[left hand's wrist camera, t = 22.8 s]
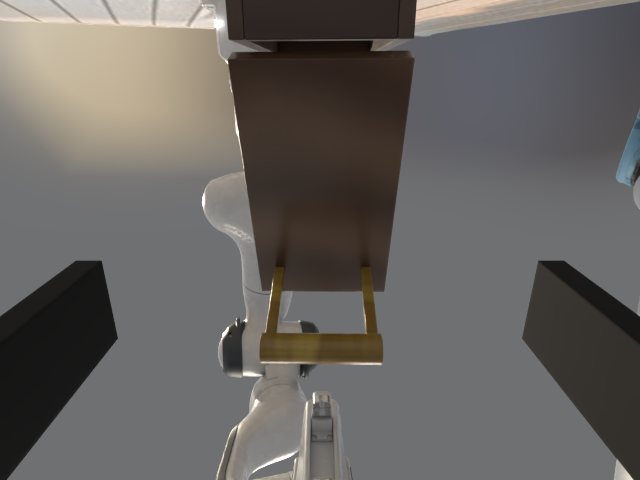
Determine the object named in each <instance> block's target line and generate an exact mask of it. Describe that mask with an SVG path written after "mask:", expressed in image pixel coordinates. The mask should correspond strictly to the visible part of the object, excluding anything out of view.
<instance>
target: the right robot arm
mask: <svg viewBox="0 0 640 480" xmlns="http://www.w3.org/2000/svg"><path fill="white" fill-rule="evenodd" d="M201 4H202V6H203V7H205V8H206V9H208V10H210V11H211V12H213V13H214V16H215V20H214V23H215V30H216V35H217V44H218V53H219V56H221V57H222V59H224V60H225V61H226V62H227V64H228V61H227V60H228V58H229V56H230V54H231V53H232V52H260V51H257V50H255V49H252V48H249V47H246V46H244V45H241V44H238V43H236V42H233V41H230V40H229V39H228V29H227V16H226V3H225V0H201ZM229 84H230V90H231V91H232V88H231V81H230V74H229ZM234 111H235V108H234ZM235 124H236V132H237V135H238V137H239V134H238V128H237V121H236V114H235ZM203 209H204V213H205V215H206V217H207V219H208V221H209V222H210V223H211V224H212V225H213V226H214V227H215V228H216V229H218V230H219V231H221V232H224V233H226V234H227V235H229V236H230V237H231V238H232V239H233V240H234V241H235V242H236V243H237V245H238V247H239V249H240V253H241V260H242V274H243V293H244V300H245V305H246V319H245V320H244V321H243V322H242V323H240V318H239V317H237V318H236V322H235V323H233V324H232V325H230V326H229V327H228V328H227V329H226V330H225V332H224V333H223V335H222V339H221V341H220V343H219V348H218V358H219V361H220V364H221V366H222V368H223V371H224V373H225V374H226V375H227V376H231V377H239V378H242V376H262V377H261V378H260V379H259V380H258V381H257V382H256V384H255V385H254V388H253V390H252V394H251V398H250V411H249V412H250V413H249V414H248V416H247V417H246V418H245V419H244V420H243V421H242V422H241V423H239V424H238V425H237V426H235V427H234V428H233V429H232V431H231V433H230V435H229V438H228V440H227V443H226V446H225V449H224V452H223V455H222V459H221V462H220V465H219V469H218V472H217V475H216V478H215V480H248V479H249V476H250V475H251V474H252V473H253V472H254V471H256V470H258V469H260V468H262V467H264V466H266V465H269V464H271V463H274V462H277V461H280V460H283V459H285V458H288V457H290V456H292V455H294V454H295V453H296V452H298V451H299V450H300V452H299V457H297V458H296V459H295V462H294V468H293V471H291V472H288V473H283V474H279V475H274V476H269V477H264V478H260V479H255V480H352V474H351V467H350V462H349V459H348V458H347V457H345V453H344V445H343V437H342V428H341V420H340V412H339V407H338V404H337V402H336V401H335V400H331V394H330V393H329V392H327V391H316V392H314V394H313V400H309V401H307V400H306V398H305V395H304V394H303V392H302V390H301V388H300V386H299V381H298V378H300V377H301V376H302V377H303V379H304V380H305V379H307V378H308V376H309V373H310V372H311V371H313V370H314V369H315V367H316V366H317V364H261V363H260V359H259V344H260V337H261V334H262V333H265V332H266V325H267V318H268V311H269V304H270V298H271V291H262V288H261V281H260V275H259V268H258V261H257V255H256V248H255V241H254V235H253V228H252V221H251V215H250V208H249V201H248V195H247V188H246V181H245V175H244V172H237V173H232V174H229V175H226V176H223V177H220V178H217V179H214V180H212V181H210V182H209V184H208V185H207V187H206V189H205V191H204V195H203ZM291 297H292V291H283V294H282V303H281V312H280V320H279V329H278V333H319V331H318V328H317V327H316V325H315V324H314V323H312V322H308V321H300V320H299V321H298V322H290V321H281V320H283V319H284V317H285V316H286V314H287V312H288V309H289V306H290V302H291Z"/></svg>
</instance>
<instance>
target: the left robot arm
mask: <svg viewBox="0 0 640 480" xmlns="http://www.w3.org/2000/svg"><path fill="white" fill-rule="evenodd" d="M616 179H617V181H619V182H621V183H625V184H626V185H628V186H634V189H633V193H634V201H635V203H636V205H637V207H638V208H639V209H640V110H639V112H638V115H637V118H636V121H635V124H634V126H633V129H632V131H631V134H630V136H629V139H628V142H627V144H626V147H625V150H624V153H623V155H622V158H621V161H620V164H619V167H618V170H617V173H616ZM117 339H118V337H117V332H116V327H115V322H114V318H113V313H112V308H111V303H110V299H109V294H108V289H107V284H106V280H105V275H104V270H103V265H102V261H75V262H74V263H72V264H71V265H70V266H68V267H67V268H66V269H64V270H63V271H61V272H60V273H59V274H57V275H56V276H55V277H53V278H52V279H51V280H49V281H48V282H46V283H45V284H44V285H42V286H41V287H40V288H38V289H37V290H36V291H34V292H33V293H32V294H30V295H29V296H27V297H26V298H25V299H23V300H22V301H21V302H19V303H18V304H17V305H15V306H14V307H12V308H11V309H10V310H8V311H7V312H6V313H4V314H3V315H2V316H0V480H7V479H8V477H9V476H10V475H11V473H12V472H13V471H14V470H15V468H16V467H17V466H18V465H19V463H20V462H21V461H22V460H23V458H24V457H25V456H26V455H27V453H28V452H29V451H30V449H31V448H32V447H33V446H34V444H35V443H36V442H37V441H38V439H39V438H40V437H41V435H42V434H43V433H44V432H45V430H46V429H47V428H48V427H49V425H50V424H51V423H52V421H53V420H54V419H55V418H56V416H57V415H58V414H59V413H60V411H61V410H62V409H63V407H64V406H65V405H66V404H67V402H68V401H69V400H70V399H71V397H72V396H73V395H74V393H75V392H76V391H77V390H78V388H79V387H80V386H81V385H82V383H83V382H84V381H85V380H86V378H87V377H88V376H89V374H90V373H91V372H92V371H93V369H94V368H95V367H96V365H97V364H98V363H99V362H100V360H101V359H102V358H103V357H104V355H105V354H106V353H107V352H108V350H109V349H110V348H111V346H112V345H113V344H114V343H115V341H116V340H117ZM522 339H523V340H524V341H525V343H526V344H527V345H528V346H529V348H530V349H531V350H532V352H533V353H534V354H535V355H536V357H537V358H538V359H539V360H540V362H541V363H542V364H543V365H544V367H545V368H546V369H547V371H548V372H549V373H550V374H551V376H552V377H553V378H554V379H555V381H556V382H557V383H558V385H559V386H560V387H561V388H562V390H563V391H564V392H565V394H566V395H567V396H568V397H569V399H570V400H571V401H572V402H573V404H574V405H575V406H576V407H577V409H578V410H579V411H580V413H581V414H582V415H583V416H584V418H585V419H586V420H587V421H588V423H589V424H590V425H591V426H592V428H593V429H594V430H595V432H596V433H597V434H598V435H599V437H600V438H601V439H602V440H603V442H604V443H605V444H606V446H607V447H608V448H609V449H610V451H611V452H612V453H613V454H614V456H615V457H616V458H617V463H616V470H615V477H614V480H640V298H639V305H638V313H637V314H636V313H634V312H633V311H632V310H630V309H629V308H628V307H626V306H625V305H623V304H622V303H621V302H619V301H618V300H617V299H615V298H614V297H613V296H611V295H610V294H608V293H607V292H606V291H604V290H603V289H602V288H600V287H599V286H598V285H596V284H595V283H593V282H592V281H591V280H589V279H588V278H587V277H585V276H584V275H583V274H581V273H580V272H579V271H577V270H576V269H574V268H573V267H572V266H570V265H569V264H568V263H566V262H565V261H538V265H537V270H536V275H535V279H534V284H533V289H532V294H531V299H530V303H529V308H528V313H527V318H526V323H525V327H524V332H523V337H522Z"/></svg>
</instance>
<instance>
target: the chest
mask: <svg viewBox="0 0 640 480" xmlns="http://www.w3.org/2000/svg"><path fill="white" fill-rule="evenodd" d="M416 2H417V0H225V3H226V16H227V29H228V39H229V40H230V41H233V42H236V43H238V44H241V45H244V46H246V47H249V48H252V49H255V50H257V51H260V52H293V51H387V50H389V49H392V48H394V47H396V46H398V45H400V44H402V43H405V42H407V41H409V40H411V39H413V38H414V30H415V16H416Z"/></svg>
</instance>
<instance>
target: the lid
mask: <svg viewBox="0 0 640 480" xmlns="http://www.w3.org/2000/svg"><path fill="white" fill-rule="evenodd" d="M414 60H415V58H414V56H413V54H412V52H411V51H293V52H232V53H231V54H230V56H229V58H228V60H227V61H228V68H229V74H230V81H231V88H232V94H233V101H234V108H235V114H236V121H237V128H238V134H239V141H240V148H241V154H242V161H243V168H244V175H245V181H246V188H247V195H248V201H249V208H250V215H251V221H252V228H253V235H254V241H255V248H256V255H257V261H258V268H259V275H260V281H261V288H262V291H271V298H270V304H269V311H268V318H267V325H266V332H265V333H262V334H261V337H260V344H259V359H260V363H261V364H335V365H337V364H338V365H382V362H383V340H382V335H381V334H380V333H378V331H377V322H376V313H375V304H374V295H373V292H384V289H385V281H386V273H387V266H388V258H389V250H390V243H391V235H392V227H393V220H394V212H395V205H396V197H397V189H398V182H399V174H400V167H401V159H402V151H403V144H404V136H405V129H406V121H407V113H408V106H409V98H410V90H411V83H412V75H413V68H414ZM283 291H329V292H362V300H363V312H364V324H365V333H278V329H279V320H280V312H281V303H282V294H283Z"/></svg>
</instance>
